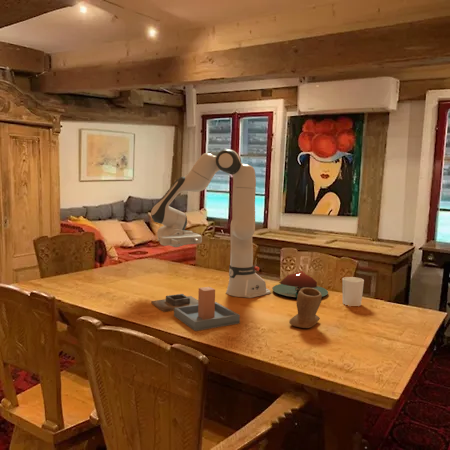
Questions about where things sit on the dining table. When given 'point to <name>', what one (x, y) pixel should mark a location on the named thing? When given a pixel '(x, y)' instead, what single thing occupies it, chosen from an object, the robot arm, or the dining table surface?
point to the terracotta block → (206, 303)
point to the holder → (174, 302)
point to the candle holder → (352, 291)
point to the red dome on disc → (297, 285)
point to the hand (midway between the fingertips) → (187, 242)
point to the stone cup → (307, 308)
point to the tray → (196, 323)
